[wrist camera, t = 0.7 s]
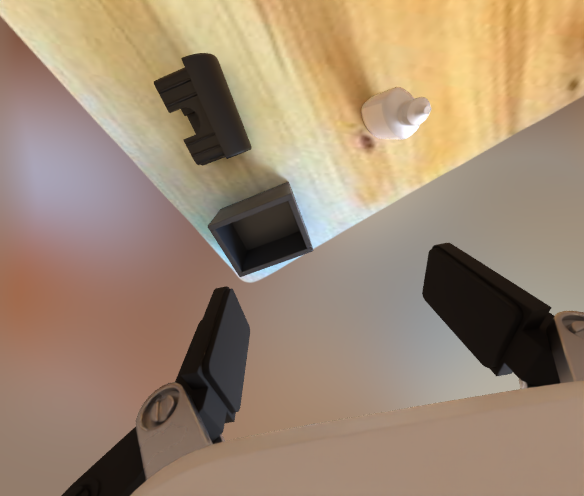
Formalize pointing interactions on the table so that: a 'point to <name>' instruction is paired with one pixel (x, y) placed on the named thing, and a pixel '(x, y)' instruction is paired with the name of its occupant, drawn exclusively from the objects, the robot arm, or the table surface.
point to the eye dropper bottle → (394, 113)
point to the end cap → (205, 108)
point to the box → (261, 230)
